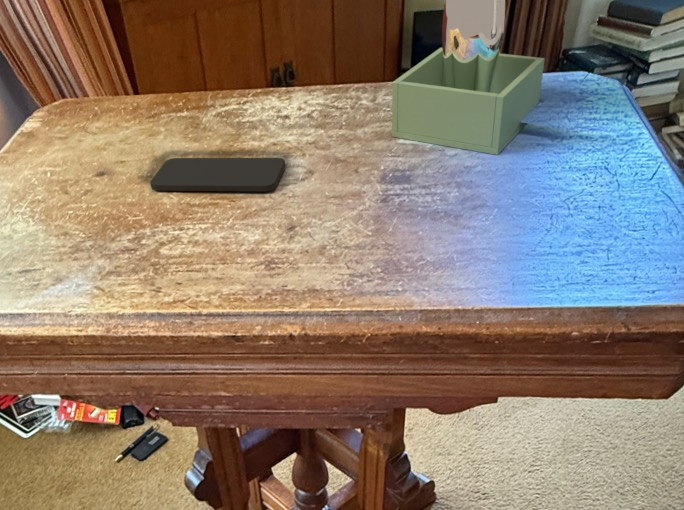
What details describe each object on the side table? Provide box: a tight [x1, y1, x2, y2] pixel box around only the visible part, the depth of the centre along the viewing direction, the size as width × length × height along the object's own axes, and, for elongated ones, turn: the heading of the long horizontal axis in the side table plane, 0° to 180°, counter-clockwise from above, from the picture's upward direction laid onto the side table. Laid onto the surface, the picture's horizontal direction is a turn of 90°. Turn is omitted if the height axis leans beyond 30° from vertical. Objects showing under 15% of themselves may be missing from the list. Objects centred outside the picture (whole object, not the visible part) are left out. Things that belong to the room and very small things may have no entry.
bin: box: [391, 47, 546, 156], centre depth 88 cm, size 14×14×7 cm
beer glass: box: [441, 0, 506, 93], centre depth 85 cm, size 7×7×15 cm
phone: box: [149, 157, 286, 192], centre depth 84 cm, size 7×1×15 cm
